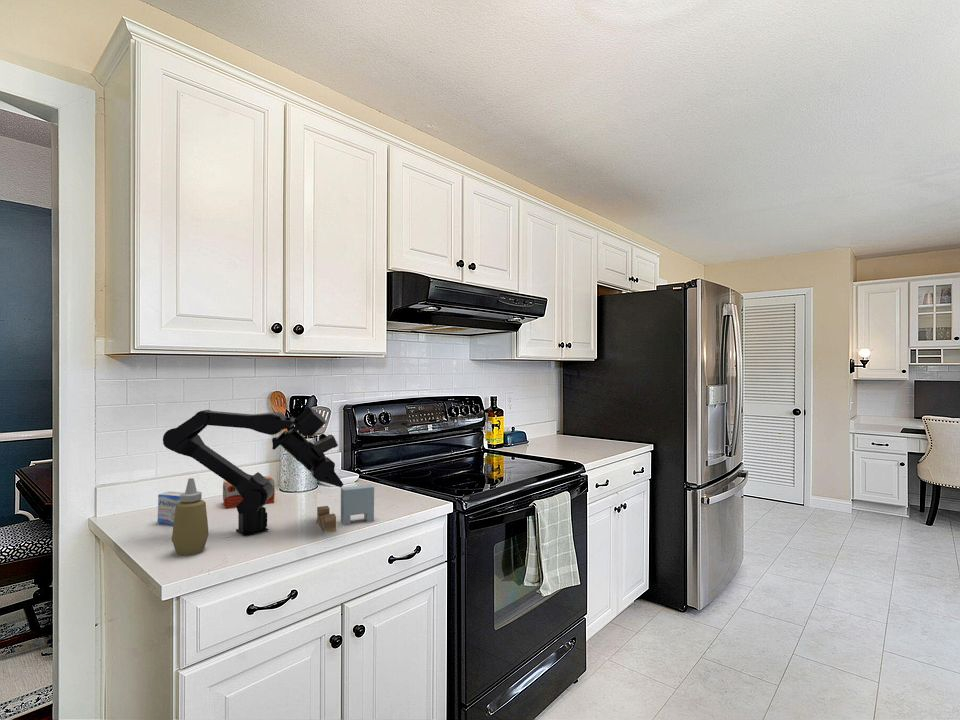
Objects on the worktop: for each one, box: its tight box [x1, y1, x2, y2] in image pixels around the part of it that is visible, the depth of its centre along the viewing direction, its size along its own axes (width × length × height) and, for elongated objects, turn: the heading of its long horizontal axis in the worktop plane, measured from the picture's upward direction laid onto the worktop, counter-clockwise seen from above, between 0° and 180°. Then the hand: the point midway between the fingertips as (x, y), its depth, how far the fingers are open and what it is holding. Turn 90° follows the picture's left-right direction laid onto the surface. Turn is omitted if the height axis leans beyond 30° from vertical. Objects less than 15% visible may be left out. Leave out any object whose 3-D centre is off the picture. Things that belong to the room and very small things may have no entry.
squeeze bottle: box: [171, 477, 210, 556], centre depth 128 cm, size 8×8×18 cm
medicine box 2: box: [222, 475, 276, 510], centre depth 172 cm, size 15×8×8 cm, turn 121°
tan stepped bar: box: [316, 505, 337, 533], centre depth 149 cm, size 12×3×4 cm, turn 28°
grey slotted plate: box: [340, 484, 375, 526], centre depth 153 cm, size 9×4×10 cm, turn 118°
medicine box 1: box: [157, 491, 183, 526], centre depth 150 cm, size 8×4×9 cm, turn 76°
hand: (338, 482), depth 150 cm, fingers open, 9 cm apart
